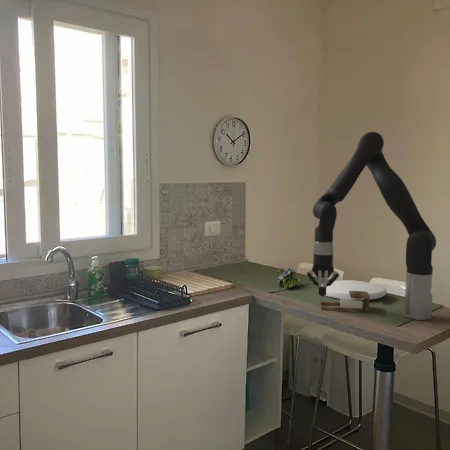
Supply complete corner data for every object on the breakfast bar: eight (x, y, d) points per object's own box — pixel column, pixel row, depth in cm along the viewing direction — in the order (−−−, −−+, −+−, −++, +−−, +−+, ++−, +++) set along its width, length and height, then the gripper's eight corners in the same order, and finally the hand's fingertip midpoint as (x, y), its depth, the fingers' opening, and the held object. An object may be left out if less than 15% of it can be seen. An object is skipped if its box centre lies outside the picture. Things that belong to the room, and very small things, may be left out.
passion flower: (280, 297, 245) (277, 273, 251) (303, 294, 243) (300, 270, 249) (276, 288, 236) (274, 264, 241) (300, 285, 234) (297, 261, 240)
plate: (309, 286, 225) (333, 276, 247) (310, 301, 225) (334, 289, 247) (373, 290, 209) (393, 278, 231) (374, 306, 209) (393, 293, 231)
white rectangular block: (360, 307, 207) (361, 298, 206) (362, 311, 202) (362, 301, 201) (340, 306, 208) (340, 296, 207) (340, 310, 203) (341, 300, 203)
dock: (366, 309, 208) (367, 291, 207) (368, 315, 200) (369, 297, 199) (320, 306, 211) (321, 289, 210) (321, 312, 203) (322, 294, 202)
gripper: (339, 251, 206) (338, 294, 208) (306, 250, 208) (305, 293, 210) (341, 254, 199) (340, 299, 201) (306, 253, 201) (305, 297, 203)
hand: (322, 295), depth 205 cm, fingers closed
